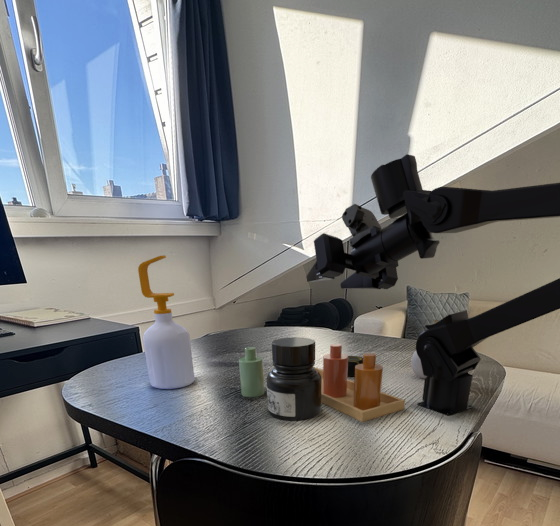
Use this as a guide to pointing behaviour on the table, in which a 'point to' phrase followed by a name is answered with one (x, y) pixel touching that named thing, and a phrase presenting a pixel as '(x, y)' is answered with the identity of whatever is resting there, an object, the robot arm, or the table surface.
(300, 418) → the ink bottle
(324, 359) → the terracotta bottle
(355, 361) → the tape measure
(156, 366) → the soap bottle
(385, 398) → the tray
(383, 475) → the table surface
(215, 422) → the table surface
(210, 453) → the table surface
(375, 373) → the amber bottle
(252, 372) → the sage bottle
